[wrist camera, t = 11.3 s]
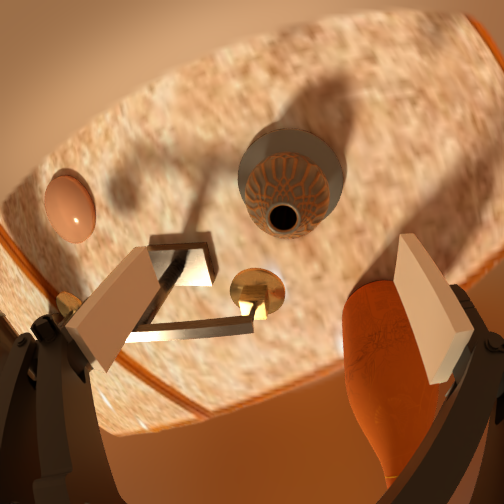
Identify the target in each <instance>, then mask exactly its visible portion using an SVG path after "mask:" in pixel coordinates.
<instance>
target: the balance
mask: <svg viewBox="0 0 504 504" xmlns="http://www.w3.org/2000/svg"><path fill="white" fill-rule="evenodd" d="M147 250H148V253H149V256H150V259H151V262H152V265H153V268H154V271H155V274H156V277H157V279H158V282H159V285H160V289H159V290H158V292H157V293H156V295H155V296H154V298H153V299H152V301H151V302H150V304H149V305H148V307H147V308H146V310H145V312H144V313H143V315H142V316H141V318H140V319H139V321H138V322H137V324H136V326H135V327H134V329H133V330H132V332H131V334H130V335H129V337H128V338H127V340H126V342H146V341H167V340H184V339H198V338H210V337H221V336H231V335H240V334H249V333H254V327H253V320H254V319H267V316H268V314H271V313H273V312H275V311H277V310H278V309H279V308H280V307H281V306H282V304H283V302H284V299H285V287H284V284H283V282H282V281H281V279H280V278H279V277H278V276H277V275H275V274H274V273H272V272H270V271H268V270H265V269H261V268H250V269H246V270H243V271H241V272H239V273H238V274H237V275H236V276H235V277H234V279H233V281H232V284H231V286H230V295H231V298H232V300H233V302H234V303H235V304H236V305H237V306H238V307H239V308H240V309H241V313H242V316H235V317H226V318H217V319H207V320H196V321H185V322H173V323H159V324H151V322H152V320H153V319H154V317H155V316H156V314H157V312H158V311H159V309H160V307H161V306H162V304H163V303H164V301H165V299H166V298H167V296H168V295H169V293H170V292H171V290H172V288H173V287H174V285H181V286H212V285H213V283H214V281H215V275H214V271H213V267H212V262H211V258H210V254H209V250H208V246H207V242H203V243H183V244H164V245H148V246H147ZM56 303H57V306H58V309H59V311H60V312H61V314H62V315H63V316H64V317H65V318H64V319H63V320H62V321H61V323H60V324H59V325H58V327H59V328H60V330H61V329H62V327H63V326H64V325H65V323H66V322H67V321H68V320H69V319H70V318H71V316H72V315H73V314H74V313H75V312H76V310H77V309H78V308H79V307H81V304H82V302H81V301H80V300H79V299H78V298H77V297H76V296H74V295H73V294H71V293H69V292H65V291H63V292H61V293H60V294H59V295H58V296H57V297H56Z"/></svg>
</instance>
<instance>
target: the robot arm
mask: <svg viewBox="0 0 504 504" xmlns="http://www.w3.org/2000/svg"><path fill="white" fill-rule="evenodd" d="M394 284H395V286H396V288H397V291H398V293H399V296H400V298H401V301H402V303H403V306H404V308H405V311H406V314H407V316H408V319H409V322H410V324H411V327H412V330H413V333H414V336H415V339H416V342H417V345H418V348H419V351H420V354H421V357H422V360H423V363H424V367H425V370H426V373H427V377H428V380H429V384H430V385H432V384H437V383H442V382H446V381H447V380H448V379H449V377H450V375H451V373H452V372H453V374H454V377H455V381H454V383H453V384H452V386H451V388H450V389H449V391H448V392H447V394H446V395H445V396H447V397H446V399H445V401H444V403H443V405H442V407H441V409H440V411H439V413H438V415H437V417H436V418H435V420H434V422H433V424H432V425H431V427H430V429H429V431H428V432H427V434H426V436H425V437H424V439H423V441H422V442H421V444H420V445H419V447H418V449H417V450H416V452H415V453H414V455H413V456H412V458H411V459H410V461H409V462H408V463H407V465H406V466H405V468H404V469H403V470H402V472H401V473H400V475H399V476H398V477H397V478H396V480H395V481H394V482H393V484H392V485H391V486H390V487H389V489H388V490H387V491H386V493H385V494H384V495H383V496H382V497H381V498H380V500H379V501H378V502H377V503H376V504H447V503H448V501H449V500H450V498H451V496H452V495H453V493H454V491H455V490H456V488H457V486H458V485H459V483H460V481H461V479H462V477H463V475H464V473H465V472H466V470H467V468H468V466H469V464H470V462H471V459H472V458H473V456H474V453H475V451H476V449H477V447H478V444H479V442H480V440H481V437H482V435H483V433H484V430H485V427H486V425H487V422H488V419H489V417H490V420H489V427H488V433H487V440H486V445H485V450H484V455H483V459H482V463H481V467H480V471H479V475H478V478H477V482H476V485H475V488H474V492H473V494H472V498H471V500H470V503H469V504H504V339H503V338H502V337H501V336H500V335H498V334H497V333H494V332H489V331H488V329H487V327H486V325H485V324H484V322H483V320H482V318H481V317H480V315H479V313H478V312H477V310H476V308H474V305H473V303H472V302H471V301H470V298H469V297H468V295H467V294H466V292H465V291H464V290H463V289H462V288H461V287H459V286H458V285H457V284H454V285H449V284H448V283H447V281H446V279H445V278H444V276H443V275H442V273H441V272H440V270H439V269H438V267H437V266H436V264H435V263H434V261H433V260H432V258H431V257H430V255H429V254H428V252H427V251H426V250H425V248H424V247H423V245H422V244H421V243H420V241H419V240H418V238H417V237H416V236H415V234H414V233H408V234H400V237H399V246H398V254H397V261H396V268H395V274H394ZM159 289H160V285H159V282H158V279H157V277H156V274H155V271H154V268H153V265H152V262H151V259H150V256H149V253H148V250H147V247H146V246H145V247H135V248H134V249H133V250H132V251H131V252H130V253H129V254H128V255H127V256H126V257H125V258H124V259H123V260H122V261H121V263H120V264H119V265H118V266H117V267H116V268H115V269H114V270H113V271H112V272H111V273H110V274H109V275H108V277H107V278H106V279H105V280H104V281H103V282H102V283H101V284H100V285H99V287H98V288H97V289H96V290H95V291H94V292H93V293H92V295H91V296H89V297H88V298H87V299H86V300H85V301H84V302H83V303H82V304H81V307H79V308H78V309H77V310H76V312H75V313H74V314H73V315H72V316H71V318H70V319H69V320H68V321H67V322H66V323H65V325H64V326H63V327H62V329H61V330H60V328H59V327H58V325H59V324H60V323H61V321H62V320H63V319H64V318H65V317H64V316H63V315H62V314H58V313H54V314H52V315H48V314H46V315H43V316H41V317H39V318H38V319H37V320H36V321H34V323H33V324H32V326H31V328H30V329H31V330H32V332H33V333H34V335H35V336H36V338H37V339H38V340H35V339H34V338H33V336H32V335H31V334H30V333H23V334H21V335H19V334H18V333H17V331H16V330H15V329H14V328H13V326H12V325H11V324H10V322H9V321H8V319H7V318H6V317H5V316H6V315H5V314H4V313H2V312H1V310H0V504H127V503H126V502H125V501H124V500H123V499H122V498H121V496H120V495H119V493H118V490H117V488H116V485H115V482H114V479H113V476H112V473H111V470H110V466H109V463H108V460H107V457H106V453H105V450H104V446H103V442H102V438H101V434H100V430H99V426H98V421H97V417H96V412H95V407H94V401H93V396H92V390H91V384H90V377H89V372H90V371H91V370H93V369H94V370H96V371H100V372H103V373H107V371H108V370H109V368H110V366H111V365H112V363H113V361H114V360H115V358H116V356H117V355H118V353H119V351H120V350H121V348H122V346H123V345H124V343H125V342H126V340H127V338H128V337H129V335H130V334H131V332H132V330H133V329H134V327H135V326H136V324H137V322H138V321H139V319H140V318H141V316H142V315H143V313H144V312H145V310H146V308H147V307H148V305H149V304H150V302H151V301H152V299H153V298H154V296H155V295H156V293H157V292H158V290H159Z"/></svg>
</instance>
